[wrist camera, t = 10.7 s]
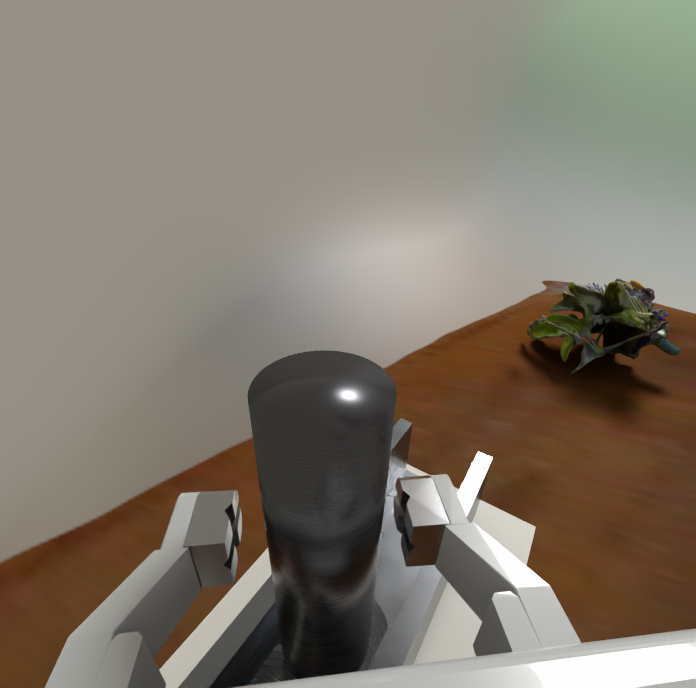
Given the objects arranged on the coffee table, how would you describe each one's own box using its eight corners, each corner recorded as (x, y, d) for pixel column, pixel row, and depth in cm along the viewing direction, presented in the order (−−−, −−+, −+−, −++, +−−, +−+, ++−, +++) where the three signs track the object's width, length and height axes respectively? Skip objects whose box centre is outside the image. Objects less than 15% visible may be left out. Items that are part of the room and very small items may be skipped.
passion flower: (590, 392, 45) (704, 338, 37) (560, 417, 38) (694, 357, 30) (533, 317, 49) (627, 253, 41) (496, 326, 42) (601, 251, 34)
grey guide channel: (394, 470, 25) (400, 418, 23) (476, 511, 23) (492, 457, 20) (191, 753, 14) (163, 704, 11) (311, 908, 11) (307, 884, 9)
